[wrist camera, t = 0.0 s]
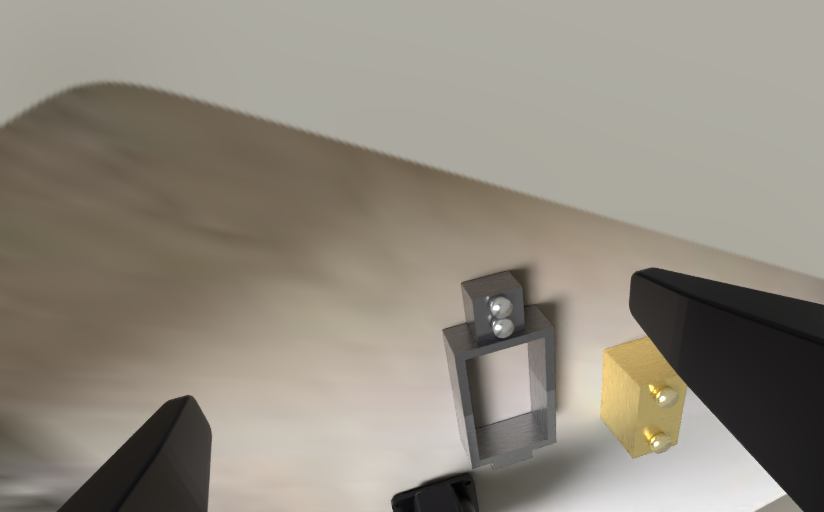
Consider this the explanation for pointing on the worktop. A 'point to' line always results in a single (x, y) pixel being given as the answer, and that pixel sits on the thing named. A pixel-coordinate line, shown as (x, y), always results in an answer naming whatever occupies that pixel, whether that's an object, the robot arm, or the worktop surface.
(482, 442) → the open rectangular frame
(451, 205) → the worktop surface
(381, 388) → the worktop surface
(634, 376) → the gold block with knobs
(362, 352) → the worktop surface
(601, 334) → the worktop surface
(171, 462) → the robot arm
